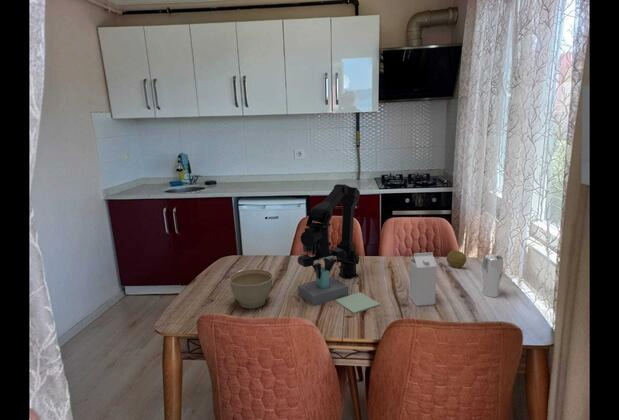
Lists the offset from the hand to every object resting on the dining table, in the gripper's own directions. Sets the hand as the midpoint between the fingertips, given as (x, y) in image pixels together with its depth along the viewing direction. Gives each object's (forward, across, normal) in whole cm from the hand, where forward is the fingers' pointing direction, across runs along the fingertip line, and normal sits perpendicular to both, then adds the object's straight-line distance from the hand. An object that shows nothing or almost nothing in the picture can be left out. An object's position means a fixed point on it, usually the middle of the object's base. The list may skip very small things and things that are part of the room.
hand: (322, 277), depth 145 cm
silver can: (+8, -54, +35) cm, 65 cm away
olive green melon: (+8, -66, +9) cm, 67 cm away
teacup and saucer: (+8, +22, -37) cm, 44 cm away
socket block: (+7, 0, 0) cm, 7 cm away
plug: (+6, 0, 0) cm, 6 cm away
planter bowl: (+8, +26, -9) cm, 29 cm away
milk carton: (+8, -28, +25) cm, 38 cm away
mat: (+7, -7, +13) cm, 17 cm away
